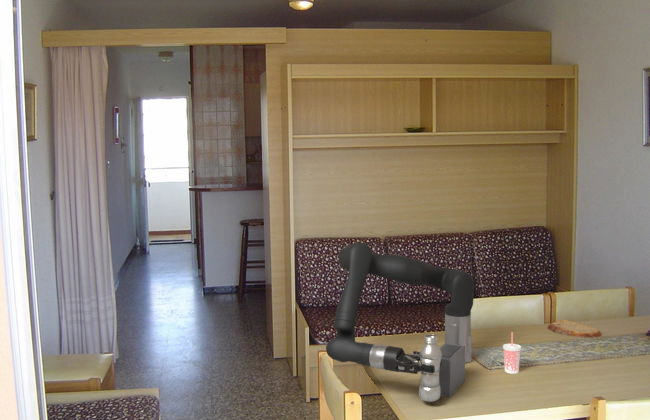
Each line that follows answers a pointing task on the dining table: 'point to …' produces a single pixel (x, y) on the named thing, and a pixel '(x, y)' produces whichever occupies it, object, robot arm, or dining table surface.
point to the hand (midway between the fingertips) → (437, 366)
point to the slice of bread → (574, 329)
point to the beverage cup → (511, 356)
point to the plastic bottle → (430, 381)
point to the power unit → (451, 368)
